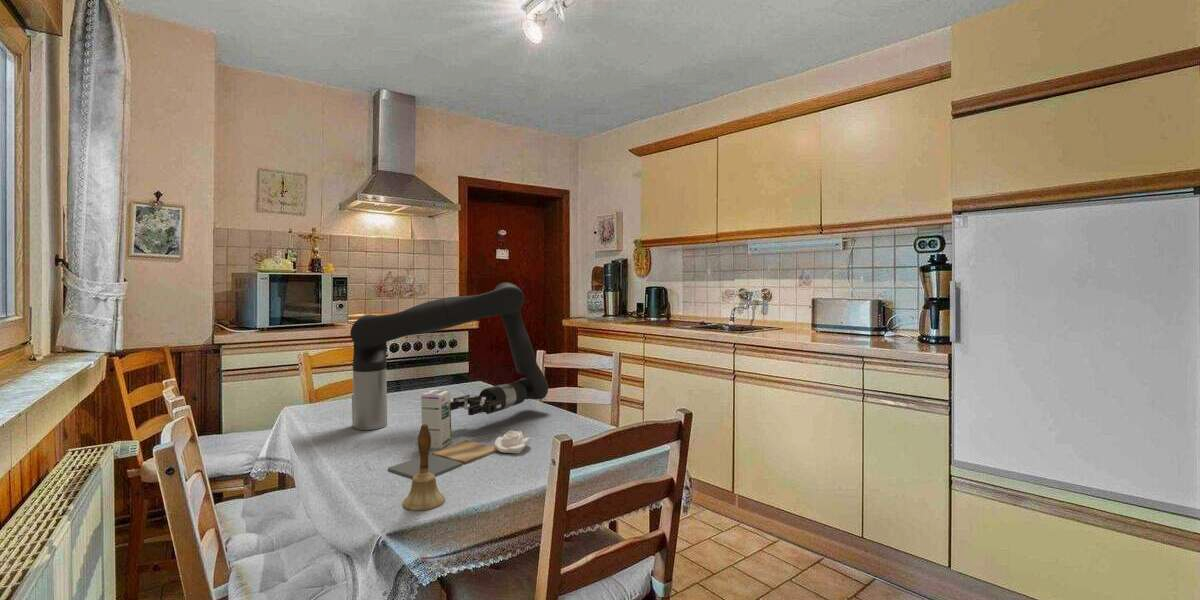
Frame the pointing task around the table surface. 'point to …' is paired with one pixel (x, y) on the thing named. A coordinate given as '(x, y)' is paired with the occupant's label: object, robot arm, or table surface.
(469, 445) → the honey oak pad
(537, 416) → the table surface
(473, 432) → the table surface
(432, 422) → the syrup box
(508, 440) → the rose
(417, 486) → the hand bell
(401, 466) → the dark slate pad
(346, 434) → the table surface
